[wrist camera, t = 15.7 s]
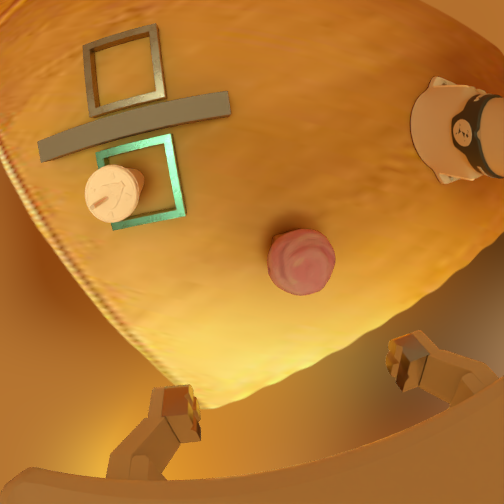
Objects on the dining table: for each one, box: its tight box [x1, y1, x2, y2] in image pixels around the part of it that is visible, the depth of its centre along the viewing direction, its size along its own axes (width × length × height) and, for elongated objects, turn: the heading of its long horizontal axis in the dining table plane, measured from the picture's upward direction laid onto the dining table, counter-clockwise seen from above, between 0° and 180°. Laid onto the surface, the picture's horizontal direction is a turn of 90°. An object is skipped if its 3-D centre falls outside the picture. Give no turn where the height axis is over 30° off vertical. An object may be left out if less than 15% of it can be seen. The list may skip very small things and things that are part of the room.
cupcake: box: [267, 229, 335, 296], centre depth 41 cm, size 9×9×10 cm
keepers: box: [83, 23, 187, 231], centre depth 35 cm, size 10×27×2 cm, turn 8°
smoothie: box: [85, 165, 144, 223], centre depth 32 cm, size 6×6×14 cm
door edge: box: [38, 91, 231, 163], centre depth 34 cm, size 26×3×4 cm, turn 98°
